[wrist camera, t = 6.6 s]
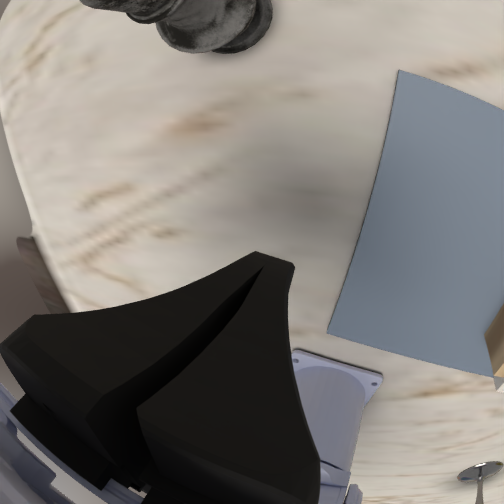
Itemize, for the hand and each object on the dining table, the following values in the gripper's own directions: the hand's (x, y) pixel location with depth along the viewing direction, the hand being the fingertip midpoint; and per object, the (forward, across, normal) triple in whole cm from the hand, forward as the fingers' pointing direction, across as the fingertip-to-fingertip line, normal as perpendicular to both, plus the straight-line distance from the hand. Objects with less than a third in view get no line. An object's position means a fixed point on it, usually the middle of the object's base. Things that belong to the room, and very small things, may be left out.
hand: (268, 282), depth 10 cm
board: (+10, -15, +1) cm, 18 cm away
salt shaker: (+10, +7, -10) cm, 16 cm away
